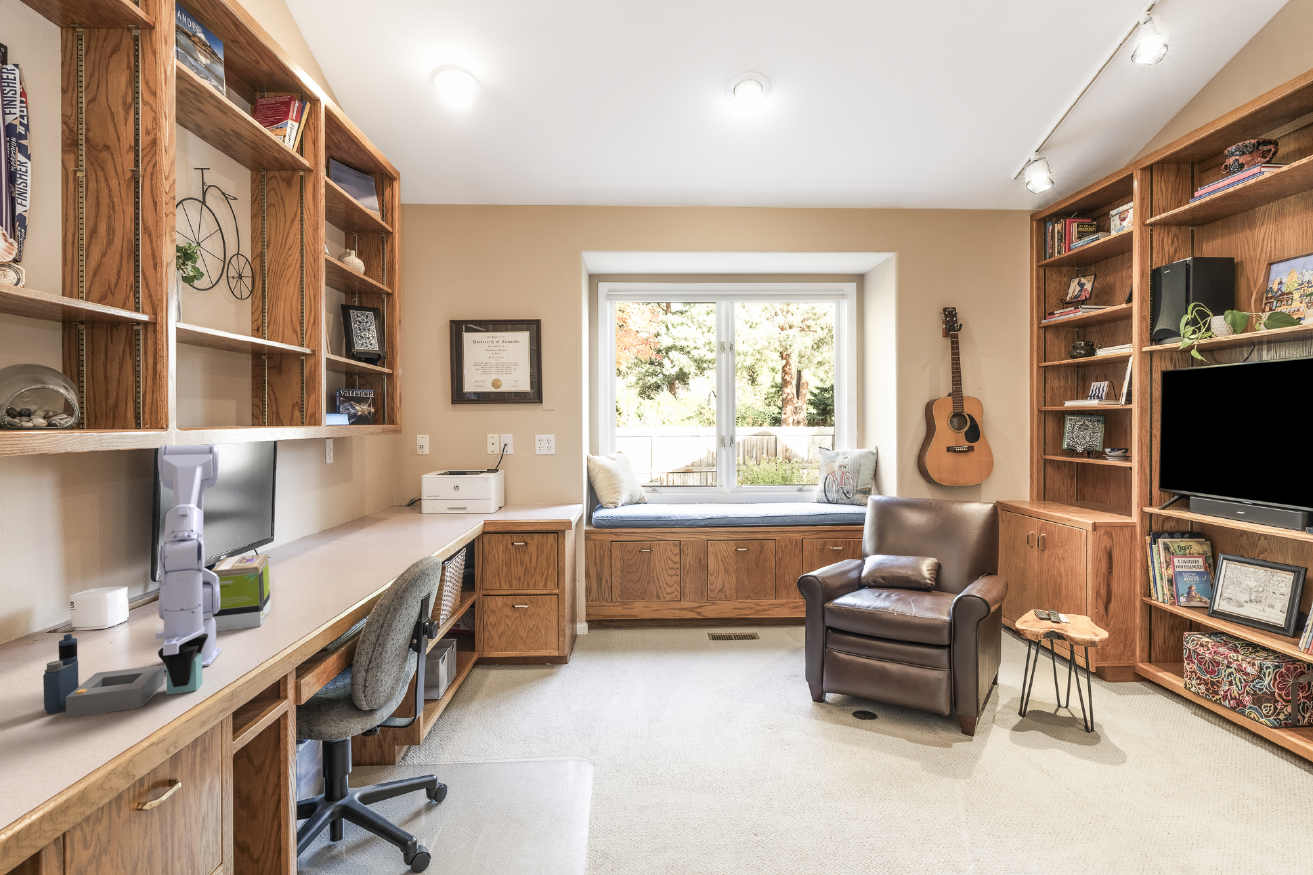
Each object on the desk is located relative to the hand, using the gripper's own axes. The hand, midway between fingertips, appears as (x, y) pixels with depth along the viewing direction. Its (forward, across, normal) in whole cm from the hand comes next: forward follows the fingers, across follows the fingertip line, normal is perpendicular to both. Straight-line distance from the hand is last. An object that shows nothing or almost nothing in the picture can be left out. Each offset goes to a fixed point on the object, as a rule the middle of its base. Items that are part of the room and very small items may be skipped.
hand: (184, 681), depth 116 cm
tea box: (+2, -43, 0) cm, 43 cm away
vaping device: (+2, +2, -17) cm, 17 cm away
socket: (+1, +1, -10) cm, 10 cm away
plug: (+1, 0, 0) cm, 1 cm away
